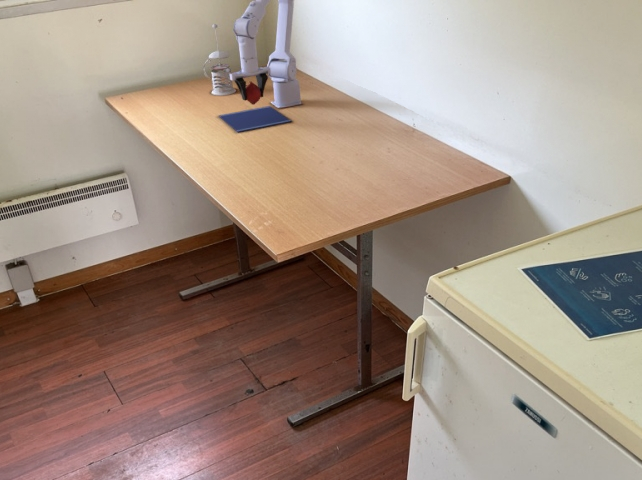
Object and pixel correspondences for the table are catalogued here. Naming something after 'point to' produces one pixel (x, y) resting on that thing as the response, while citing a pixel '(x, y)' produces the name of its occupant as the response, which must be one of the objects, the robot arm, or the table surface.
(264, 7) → the robot arm
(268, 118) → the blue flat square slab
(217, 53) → the french press
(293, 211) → the table surface
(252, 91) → the onion
